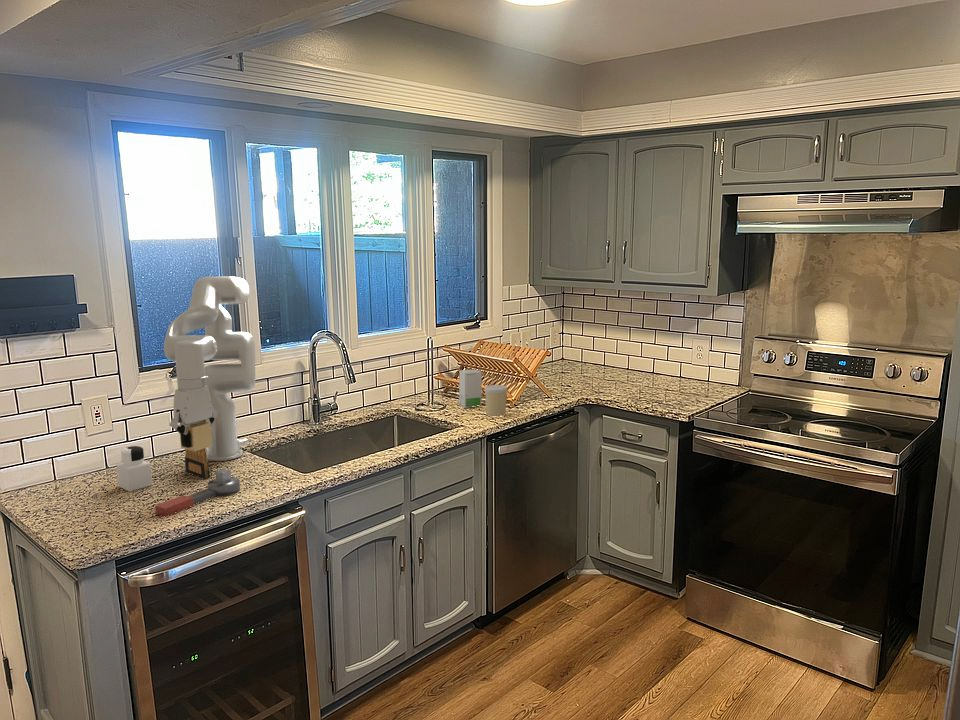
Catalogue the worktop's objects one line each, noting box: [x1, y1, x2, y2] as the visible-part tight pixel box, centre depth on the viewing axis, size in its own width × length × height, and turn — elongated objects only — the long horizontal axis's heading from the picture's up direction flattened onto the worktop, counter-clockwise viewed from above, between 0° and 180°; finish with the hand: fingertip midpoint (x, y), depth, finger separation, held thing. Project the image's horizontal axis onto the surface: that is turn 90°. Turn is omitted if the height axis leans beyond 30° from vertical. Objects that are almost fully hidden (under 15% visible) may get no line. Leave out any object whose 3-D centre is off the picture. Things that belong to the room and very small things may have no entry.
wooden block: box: [178, 421, 212, 451], centre depth 210 cm, size 6×6×7 cm
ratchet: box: [154, 468, 241, 518], centre depth 208 cm, size 26×9×6 cm, turn 150°
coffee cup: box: [484, 384, 508, 416], centre depth 297 cm, size 9×9×12 cm
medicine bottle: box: [116, 445, 153, 492], centre depth 218 cm, size 7×7×12 cm
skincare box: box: [458, 369, 483, 409], centre depth 312 cm, size 8×7×16 cm
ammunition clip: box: [184, 448, 211, 480], centre depth 227 cm, size 11×2×12 cm, turn 53°
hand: (196, 443), depth 210 cm, fingers closed on wooden block, 6 cm apart
